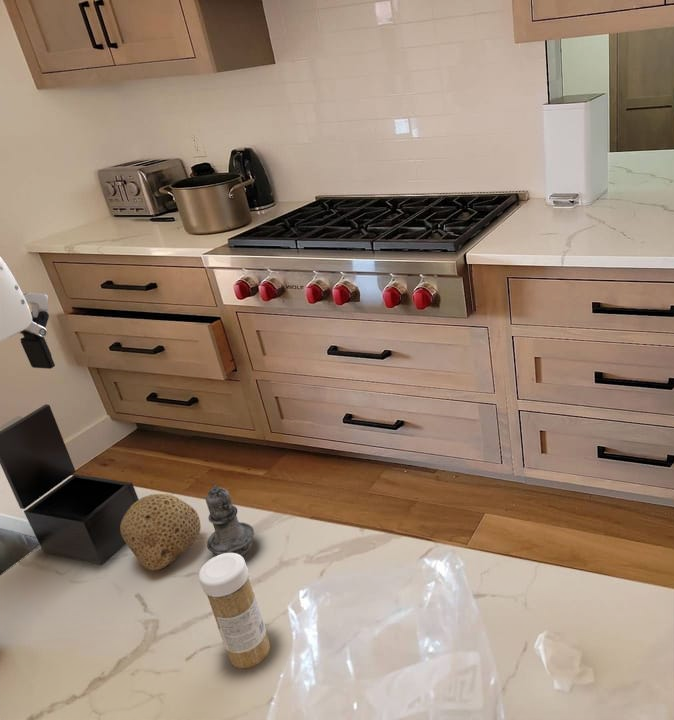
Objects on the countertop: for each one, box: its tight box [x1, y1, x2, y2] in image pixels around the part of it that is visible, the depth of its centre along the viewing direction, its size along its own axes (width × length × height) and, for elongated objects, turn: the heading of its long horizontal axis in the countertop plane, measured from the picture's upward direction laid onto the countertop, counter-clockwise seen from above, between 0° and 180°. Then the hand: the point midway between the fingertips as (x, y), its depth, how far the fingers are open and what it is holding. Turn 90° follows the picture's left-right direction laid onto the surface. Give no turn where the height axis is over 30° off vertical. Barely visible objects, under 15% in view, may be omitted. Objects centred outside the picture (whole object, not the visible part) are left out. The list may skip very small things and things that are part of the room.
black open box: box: [23, 473, 140, 566], centre depth 93 cm, size 10×8×8 cm
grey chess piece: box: [205, 484, 255, 557], centre depth 87 cm, size 6×6×12 cm
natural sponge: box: [120, 493, 201, 571], centre depth 88 cm, size 9×9×10 cm
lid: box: [0, 403, 77, 510], centre depth 91 cm, size 11×8×5 cm
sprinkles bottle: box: [198, 553, 271, 669], centre depth 72 cm, size 5×5×14 cm
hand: (10, 386), depth 81 cm, fingers open, 9 cm apart
